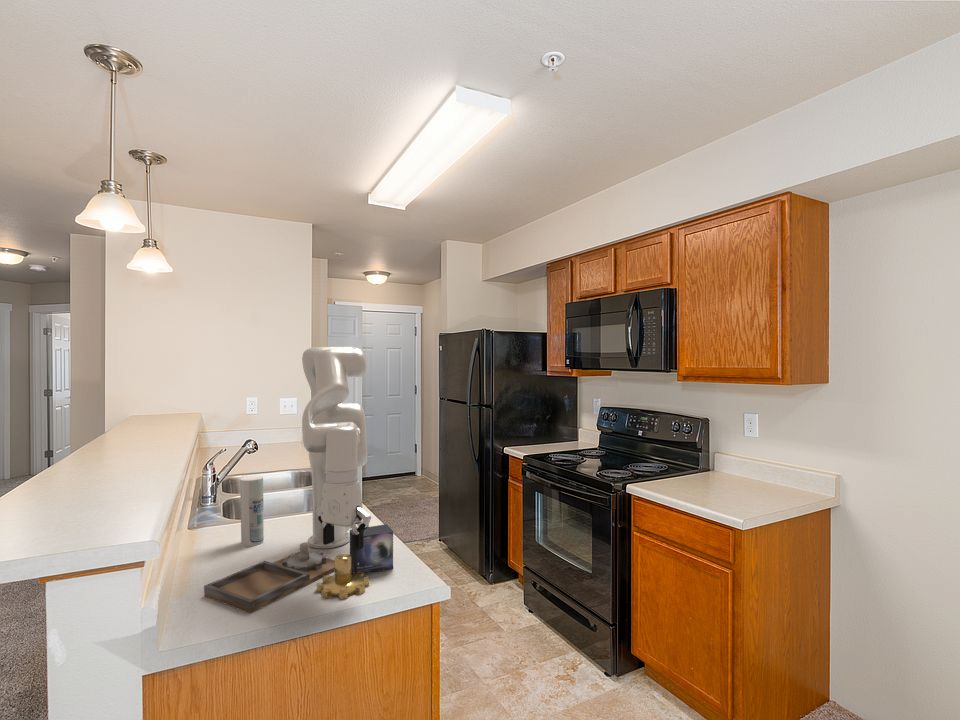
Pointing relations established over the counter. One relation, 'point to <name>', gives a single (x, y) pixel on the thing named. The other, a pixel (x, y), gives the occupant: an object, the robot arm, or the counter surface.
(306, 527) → the counter surface
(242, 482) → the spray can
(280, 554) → the counter surface
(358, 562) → the small box
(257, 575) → the carrier plate
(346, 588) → the gear
